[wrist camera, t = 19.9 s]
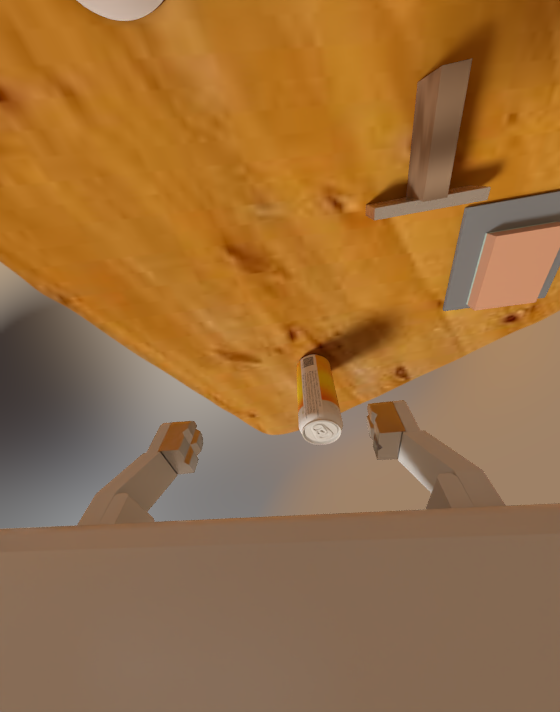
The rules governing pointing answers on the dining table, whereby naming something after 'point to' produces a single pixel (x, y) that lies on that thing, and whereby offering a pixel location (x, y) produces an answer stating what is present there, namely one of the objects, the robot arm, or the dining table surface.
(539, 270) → the terracotta tile
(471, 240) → the charcoal mat
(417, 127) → the walnut scraper
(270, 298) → the dining table surface
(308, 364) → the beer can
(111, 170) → the dining table surface
